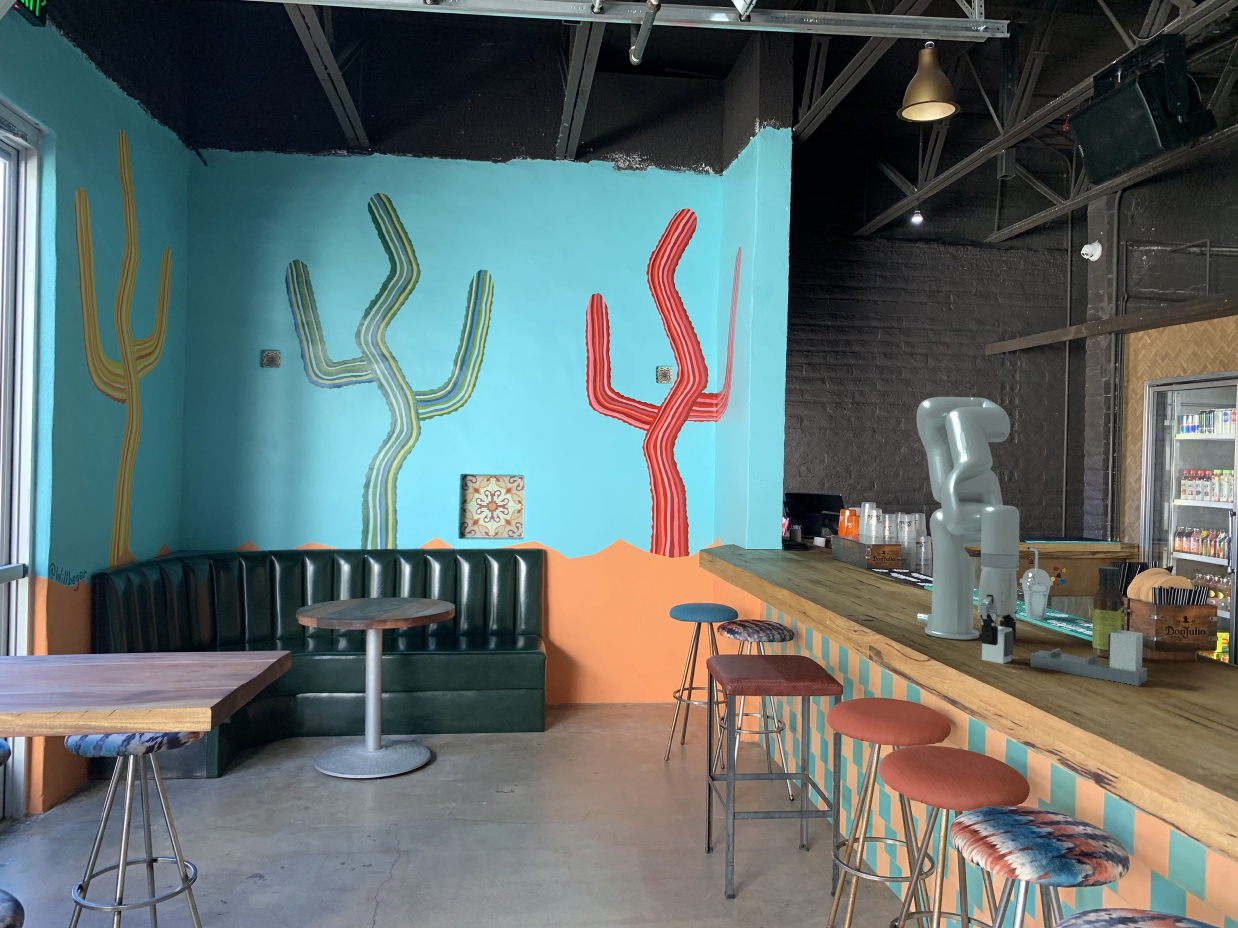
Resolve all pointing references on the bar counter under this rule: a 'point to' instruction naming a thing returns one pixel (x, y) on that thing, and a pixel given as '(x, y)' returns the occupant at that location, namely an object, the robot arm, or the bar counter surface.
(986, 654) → the finger block
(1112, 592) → the sauce bottle
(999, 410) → the robot arm
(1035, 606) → the cup with straw
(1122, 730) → the bar counter surface
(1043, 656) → the rail
